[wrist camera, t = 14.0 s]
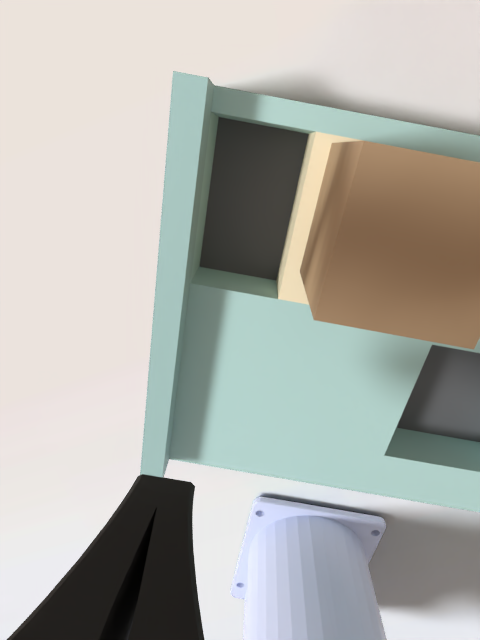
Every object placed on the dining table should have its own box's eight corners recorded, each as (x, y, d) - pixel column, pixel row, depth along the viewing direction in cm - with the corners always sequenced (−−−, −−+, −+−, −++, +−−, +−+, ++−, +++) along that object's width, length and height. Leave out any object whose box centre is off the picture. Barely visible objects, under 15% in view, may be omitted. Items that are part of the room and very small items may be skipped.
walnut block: (414, 292, 15) (473, 349, 11) (299, 271, 15) (313, 320, 10) (463, 168, 13) (558, 178, 9) (331, 142, 13) (363, 140, 9)
